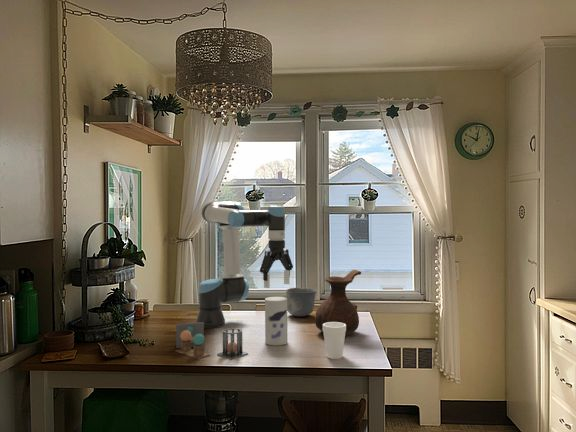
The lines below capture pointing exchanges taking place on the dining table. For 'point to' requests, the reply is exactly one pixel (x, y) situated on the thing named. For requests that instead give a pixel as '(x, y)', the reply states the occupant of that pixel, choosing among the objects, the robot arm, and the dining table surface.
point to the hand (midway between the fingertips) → (277, 286)
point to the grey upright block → (192, 327)
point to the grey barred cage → (225, 344)
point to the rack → (192, 350)
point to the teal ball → (198, 339)
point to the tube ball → (233, 347)
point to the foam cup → (334, 339)
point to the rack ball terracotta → (185, 335)
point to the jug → (338, 305)
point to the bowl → (300, 301)
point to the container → (276, 320)
